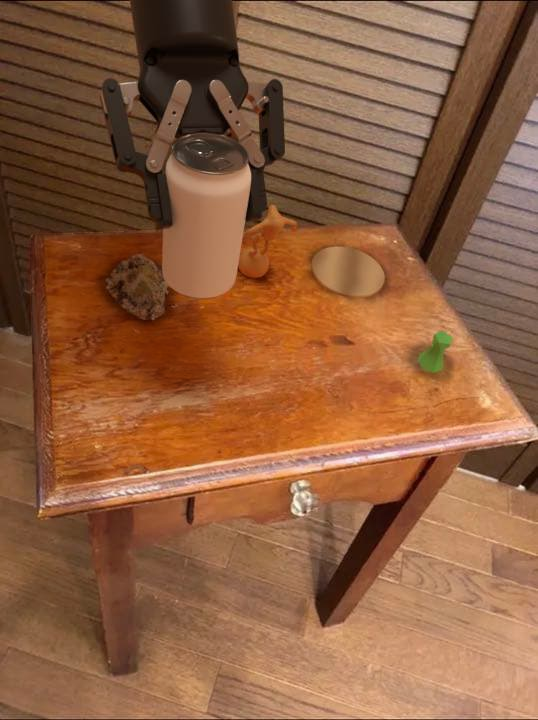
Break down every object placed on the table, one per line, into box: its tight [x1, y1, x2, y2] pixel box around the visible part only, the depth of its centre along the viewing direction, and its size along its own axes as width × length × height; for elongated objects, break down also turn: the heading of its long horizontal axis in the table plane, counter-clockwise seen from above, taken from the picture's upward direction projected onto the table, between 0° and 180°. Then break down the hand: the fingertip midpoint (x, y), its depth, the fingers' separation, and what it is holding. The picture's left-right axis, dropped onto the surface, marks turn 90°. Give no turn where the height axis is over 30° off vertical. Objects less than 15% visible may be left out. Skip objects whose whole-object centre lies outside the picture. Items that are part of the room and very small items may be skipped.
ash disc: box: [310, 245, 386, 299], centre depth 79 cm, size 10×10×2 cm
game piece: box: [417, 330, 453, 374], centre depth 68 cm, size 4×4×6 cm
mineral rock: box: [105, 253, 172, 321], centre depth 70 cm, size 11×4×8 cm
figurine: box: [238, 204, 298, 279], centre depth 72 cm, size 8×6×12 cm
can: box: [161, 132, 251, 300], centre depth 47 cm, size 6×6×12 cm
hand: (211, 223), depth 46 cm, fingers closed on can, 6 cm apart
